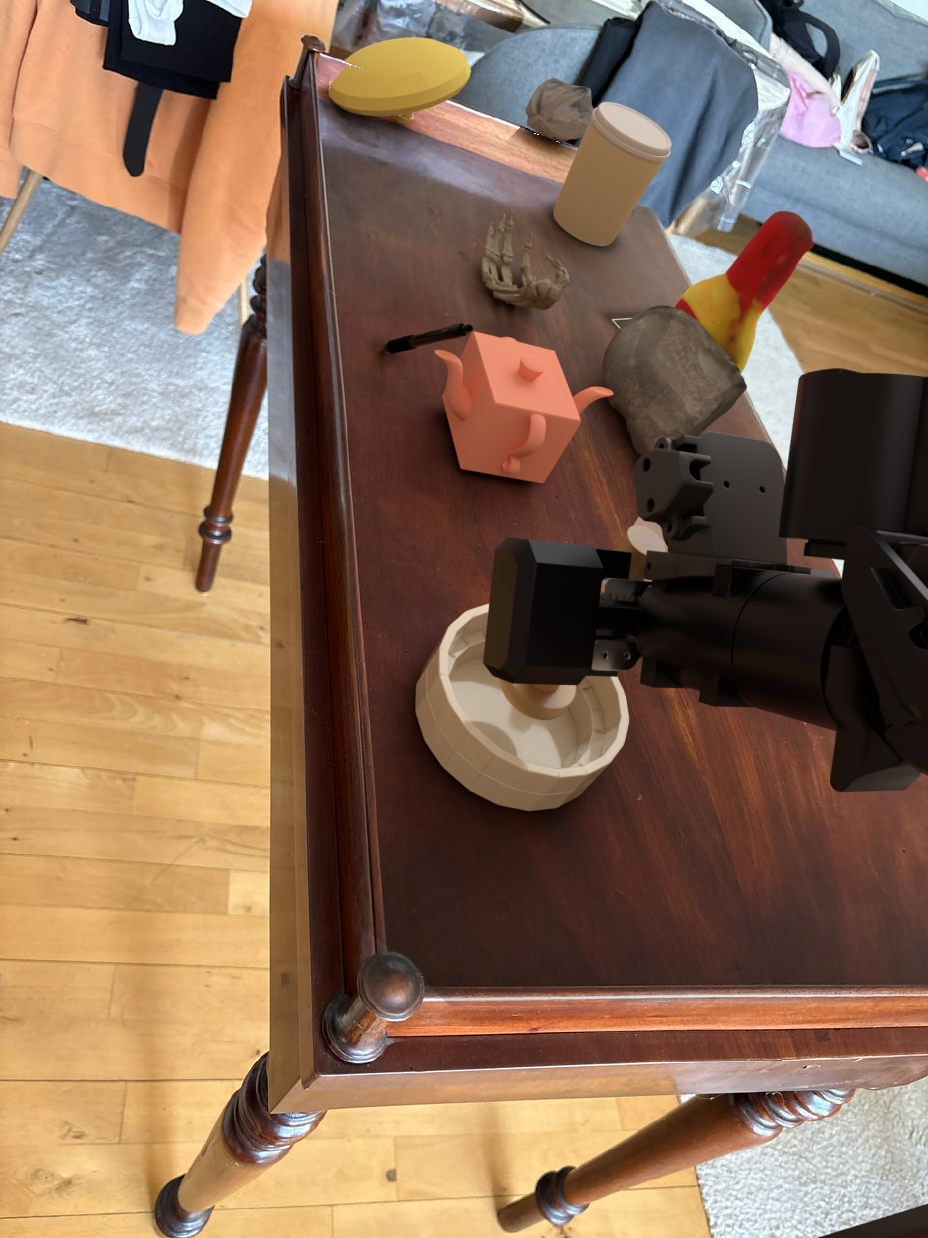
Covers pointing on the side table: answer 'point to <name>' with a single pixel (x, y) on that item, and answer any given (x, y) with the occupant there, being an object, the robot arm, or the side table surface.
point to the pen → (427, 338)
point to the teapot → (511, 407)
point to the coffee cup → (610, 173)
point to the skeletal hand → (532, 291)
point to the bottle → (748, 284)
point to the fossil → (560, 110)
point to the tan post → (557, 698)
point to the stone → (668, 376)
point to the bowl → (513, 726)
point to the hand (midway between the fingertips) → (578, 601)
